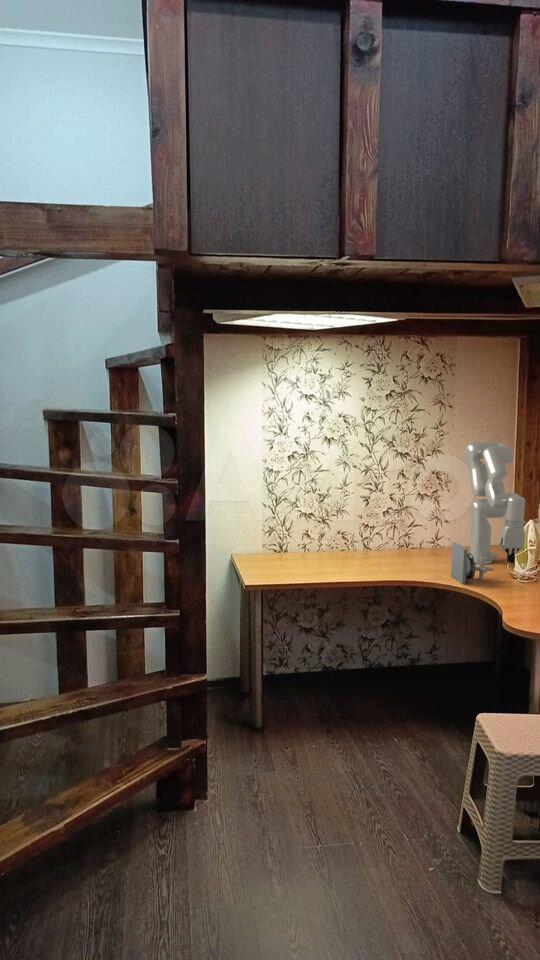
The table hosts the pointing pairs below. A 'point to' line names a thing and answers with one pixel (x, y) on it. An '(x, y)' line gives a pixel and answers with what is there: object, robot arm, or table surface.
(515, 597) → the table surface
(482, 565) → the pipe connector
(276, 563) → the table surface
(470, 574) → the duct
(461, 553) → the mounting panel
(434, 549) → the table surface
